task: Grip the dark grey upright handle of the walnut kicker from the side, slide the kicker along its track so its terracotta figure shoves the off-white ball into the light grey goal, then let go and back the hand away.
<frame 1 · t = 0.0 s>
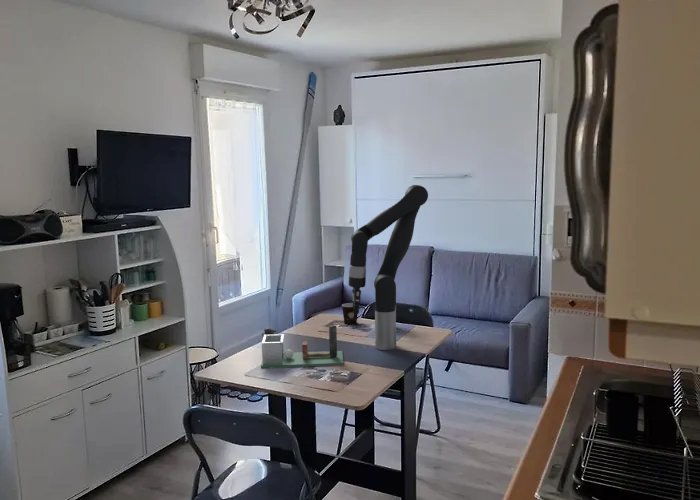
hand: (355, 311, 259), 17 cm above the table, tool pointing down, fingers open, 8 cm apart
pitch: (302, 360, 247), on the table
ball: (288, 354, 246), point 3 cm above the table, touching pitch
beverage bottle: (387, 328, 295), on the table
kicker: (319, 341, 246), point 8 cm above the table, slide at 0.0 cm
lighter: (270, 350, 262), on the table
coffee mug: (353, 324, 304), on the table
goal: (274, 361, 246), resting on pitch
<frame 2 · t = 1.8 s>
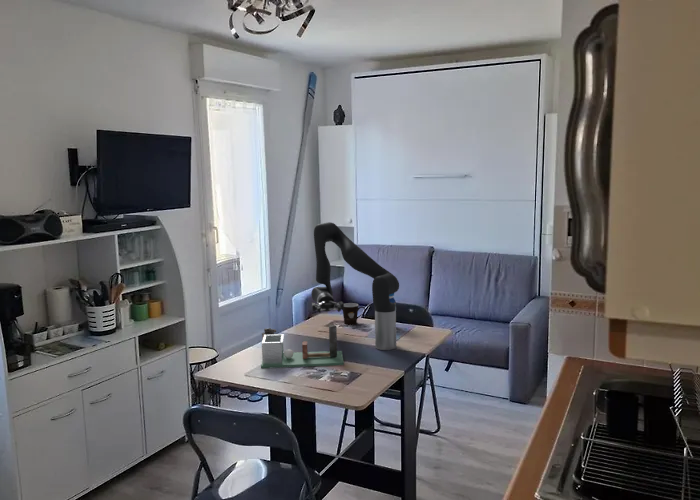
hand: (329, 310, 256), 19 cm above the table, tool horizontal, fingers open, 8 cm apart
nothing on the table moved.
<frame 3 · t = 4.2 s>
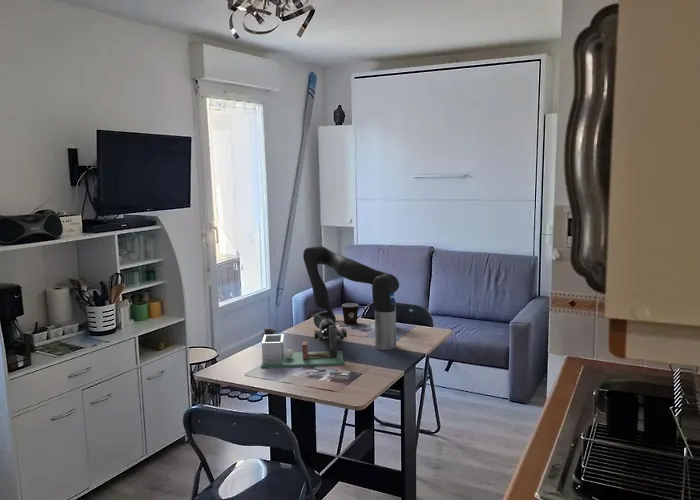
hand: (331, 338, 250), 8 cm above the table, tool horizontal, fingers open, 8 cm apart
nothing on the table moved.
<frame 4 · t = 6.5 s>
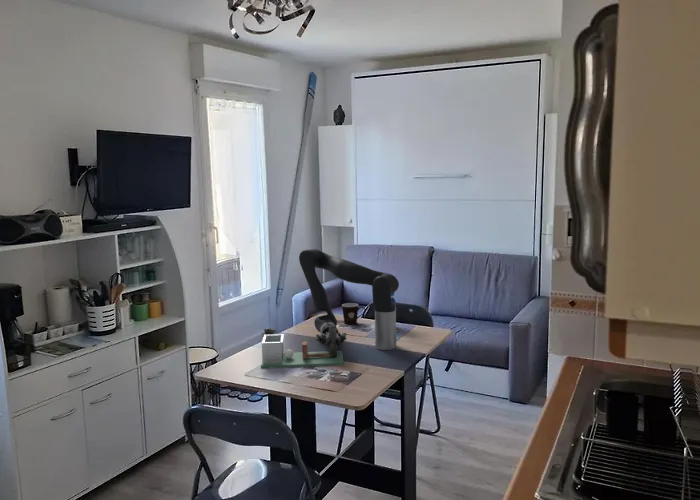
hand: (333, 343, 244), 8 cm above the table, tool horizontal, fingers closed on kicker, 3 cm apart
kicker: (319, 341, 246), point 8 cm above the table, slide at 0.0 cm, touching gripper
everything else where it was.
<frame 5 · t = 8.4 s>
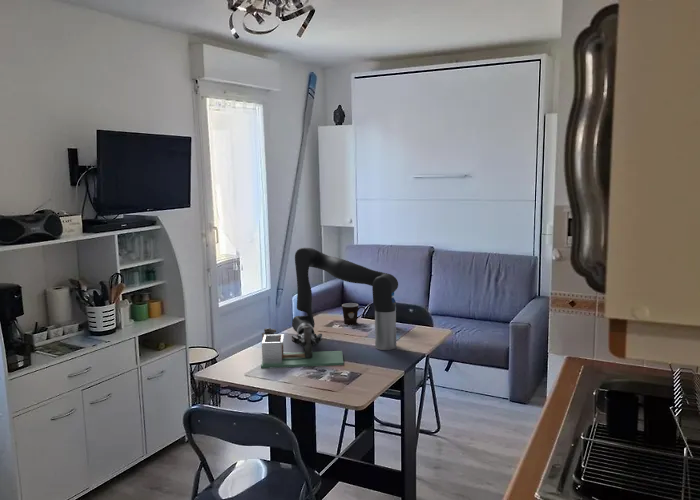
hand: (308, 343, 243), 8 cm above the table, tool horizontal, fingers closed on kicker, 3 cm apart
ball: (271, 354, 246), point 3 cm above the table, tilted 153°, touching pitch
kicker: (294, 342, 246), point 8 cm above the table, slide at 10.6 cm, touching gripper
everything else where it was.
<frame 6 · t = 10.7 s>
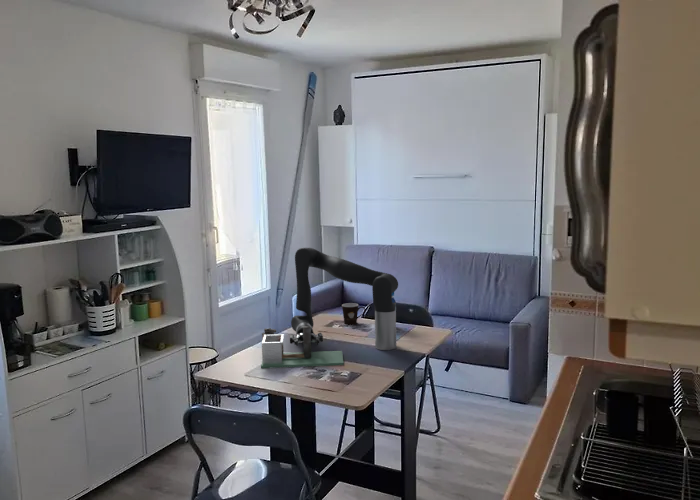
hand: (307, 342, 245), 8 cm above the table, tool horizontal, fingers open, 8 cm apart
kicker: (293, 342, 246), point 8 cm above the table, slide at 10.9 cm
everything else where it was.
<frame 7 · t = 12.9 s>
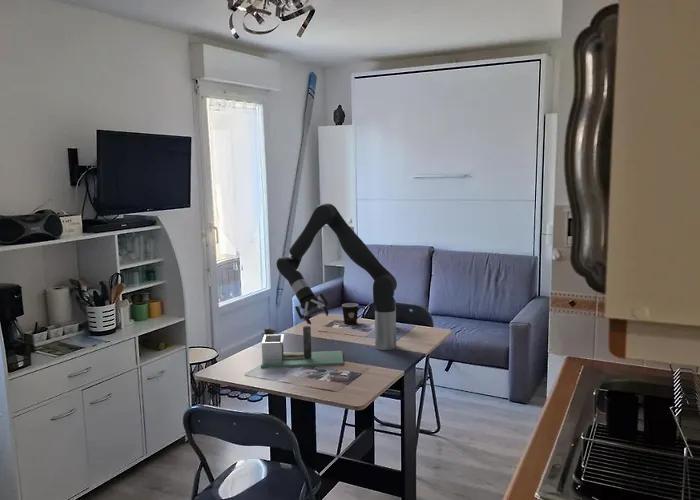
hand: (319, 319, 258), 14 cm above the table, tool tilted 50°, fingers open, 8 cm apart
nothing on the table moved.
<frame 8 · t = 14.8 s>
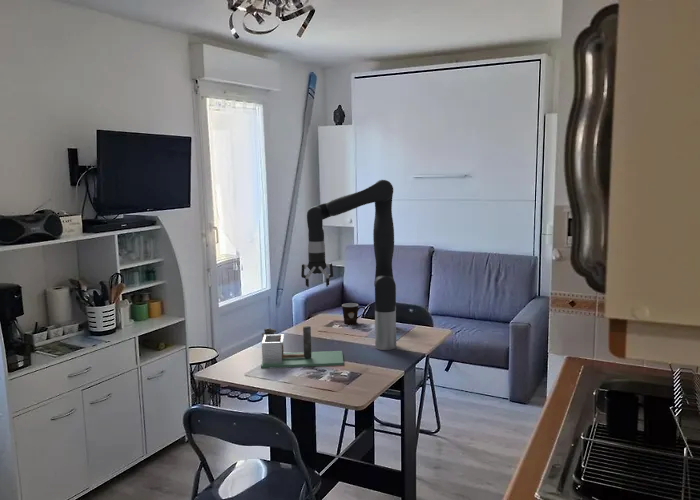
hand: (317, 286, 261), 28 cm above the table, tool pointing down, fingers open, 8 cm apart
nothing on the table moved.
at the end: ball inside the target area (0.5 cm from its centre), point 3.0 cm above the table; kicker slide at 10.9 cm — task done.
